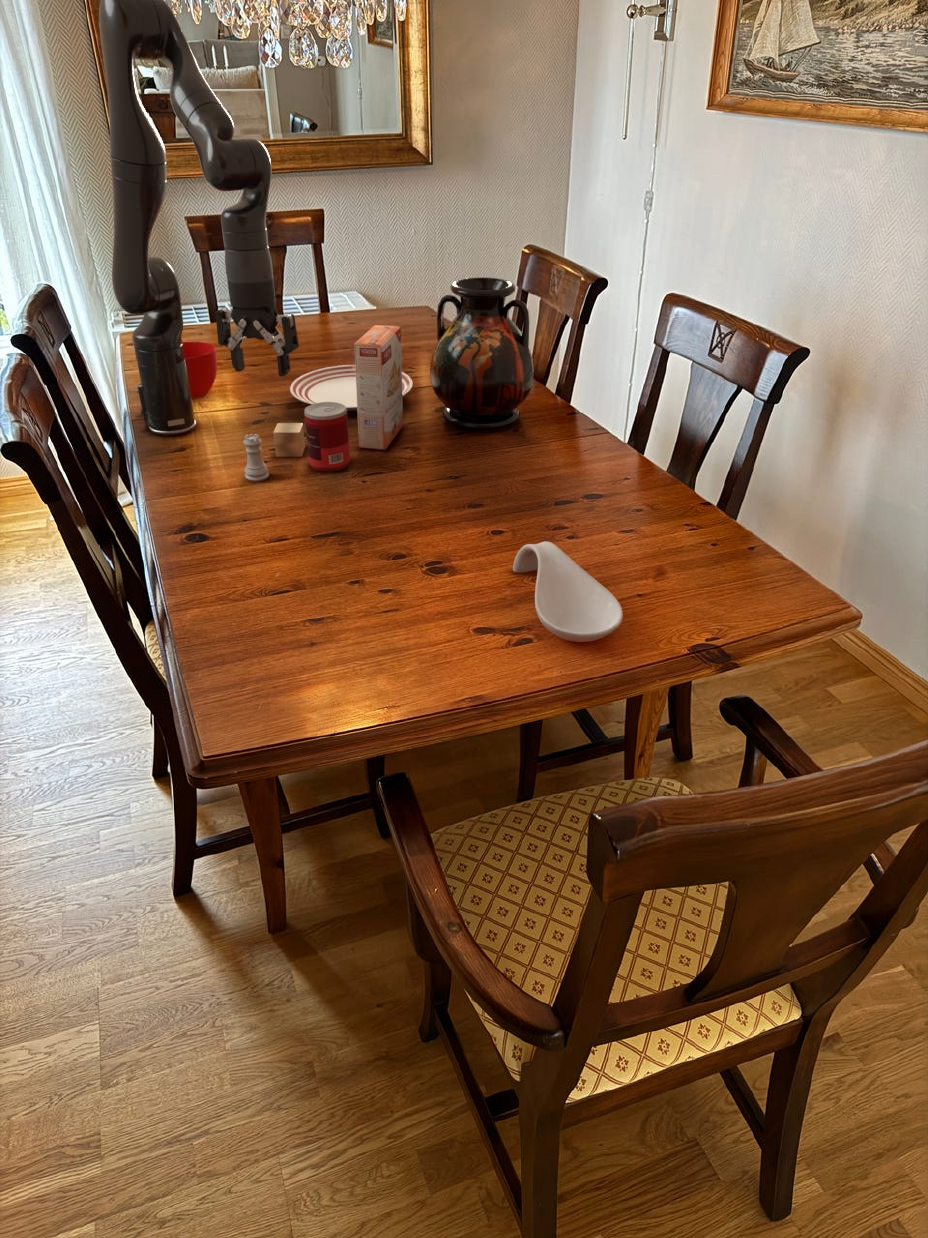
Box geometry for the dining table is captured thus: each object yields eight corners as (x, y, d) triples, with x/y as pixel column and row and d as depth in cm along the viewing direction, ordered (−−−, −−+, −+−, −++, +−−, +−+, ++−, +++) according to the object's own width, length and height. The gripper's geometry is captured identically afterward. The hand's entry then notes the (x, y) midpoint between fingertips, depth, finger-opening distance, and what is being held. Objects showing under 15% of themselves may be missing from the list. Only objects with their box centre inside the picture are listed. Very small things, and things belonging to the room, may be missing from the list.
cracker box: (387, 451, 177) (382, 345, 165) (358, 449, 178) (351, 342, 166) (405, 426, 188) (402, 325, 177) (377, 424, 189) (372, 323, 178)
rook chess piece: (246, 472, 168) (240, 432, 163) (270, 472, 168) (265, 431, 164) (243, 482, 164) (237, 441, 160) (268, 482, 164) (263, 440, 160)
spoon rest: (636, 644, 121) (642, 599, 117) (557, 662, 117) (560, 616, 113) (558, 563, 139) (561, 522, 135) (488, 577, 136) (489, 534, 132)
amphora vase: (417, 433, 185) (413, 292, 170) (447, 399, 202) (446, 268, 187) (519, 444, 180) (525, 300, 165) (540, 408, 198) (547, 275, 182)
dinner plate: (384, 425, 189) (383, 410, 187) (269, 410, 196) (267, 395, 194) (430, 385, 210) (430, 371, 209) (324, 373, 218) (323, 359, 216)
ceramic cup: (237, 380, 213) (231, 338, 207) (208, 404, 199) (201, 359, 193) (186, 377, 214) (179, 335, 209) (153, 401, 200) (145, 356, 195)
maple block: (276, 456, 174) (273, 432, 172) (280, 446, 178) (277, 422, 176) (301, 456, 174) (299, 432, 172) (305, 446, 179) (302, 422, 176)
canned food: (357, 459, 173) (353, 404, 167) (339, 475, 167) (334, 418, 161) (321, 453, 175) (316, 399, 169) (302, 469, 169) (296, 413, 163)
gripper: (299, 274, 149) (308, 370, 158) (223, 268, 153) (236, 362, 162) (278, 283, 143) (288, 383, 152) (200, 277, 147) (214, 375, 156)
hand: (261, 372), depth 157 cm, fingers open, 8 cm apart
